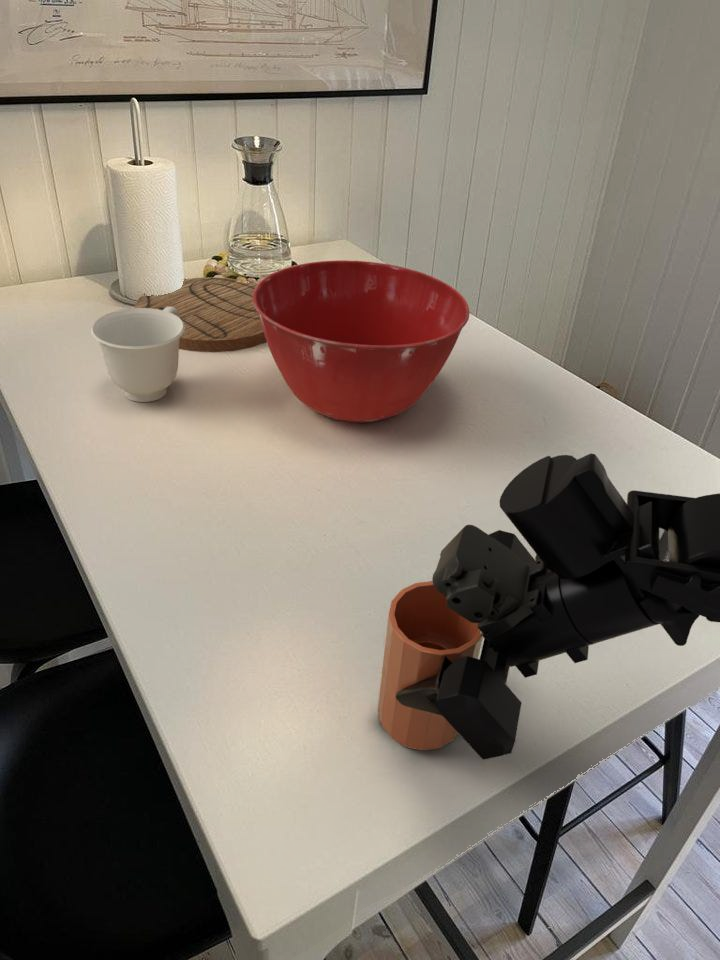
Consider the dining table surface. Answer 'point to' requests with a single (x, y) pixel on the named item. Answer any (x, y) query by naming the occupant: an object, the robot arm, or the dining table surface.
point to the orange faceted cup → (421, 661)
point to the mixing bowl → (358, 334)
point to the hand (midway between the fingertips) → (411, 661)
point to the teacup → (140, 349)
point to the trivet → (213, 314)
